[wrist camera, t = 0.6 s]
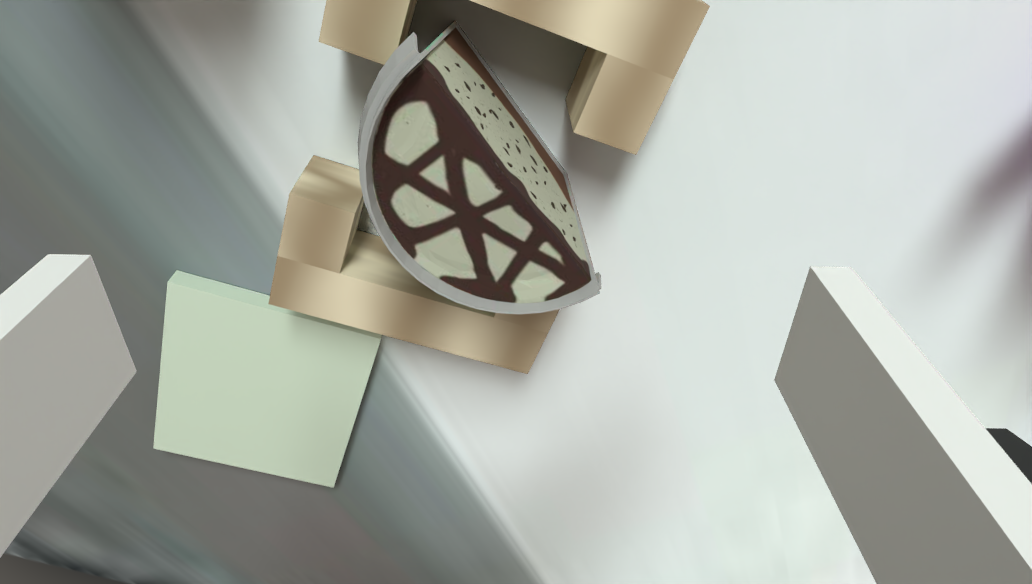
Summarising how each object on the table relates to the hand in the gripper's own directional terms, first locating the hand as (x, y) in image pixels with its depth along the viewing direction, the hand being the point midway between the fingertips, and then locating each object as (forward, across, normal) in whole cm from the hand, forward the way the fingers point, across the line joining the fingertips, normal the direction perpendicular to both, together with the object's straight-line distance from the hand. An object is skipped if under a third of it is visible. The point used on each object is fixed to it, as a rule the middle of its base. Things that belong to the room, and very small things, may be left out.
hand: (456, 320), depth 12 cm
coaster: (+22, -14, -21) cm, 33 cm away
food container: (+22, -1, -4) cm, 22 cm away
